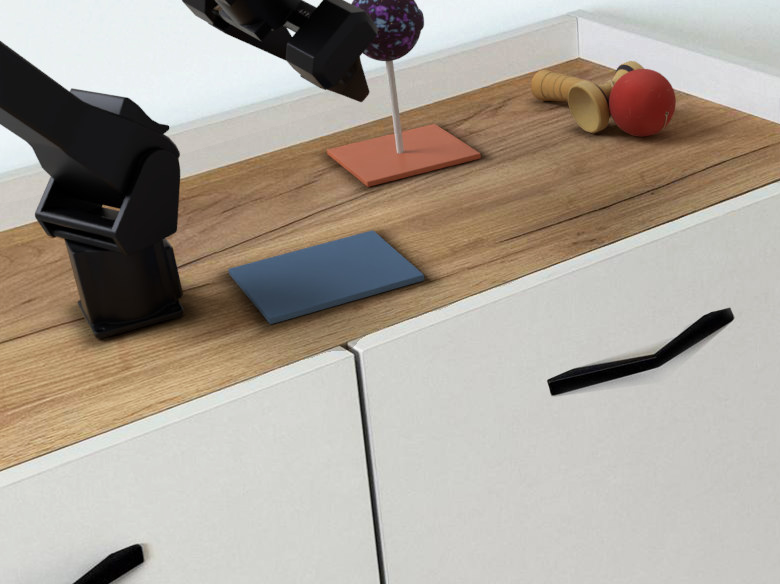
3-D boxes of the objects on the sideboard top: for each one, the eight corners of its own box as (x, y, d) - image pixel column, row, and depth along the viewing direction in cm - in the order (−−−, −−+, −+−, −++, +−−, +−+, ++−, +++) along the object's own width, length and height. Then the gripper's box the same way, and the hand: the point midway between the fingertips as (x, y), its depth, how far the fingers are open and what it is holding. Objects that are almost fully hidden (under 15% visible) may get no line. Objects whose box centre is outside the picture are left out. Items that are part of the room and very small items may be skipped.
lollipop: (394, 171, 116) (372, -1, 108) (347, 155, 120) (323, -12, 113) (453, 148, 120) (436, -19, 112) (406, 133, 124) (386, -29, 117)
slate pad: (270, 324, 93) (269, 318, 93) (229, 274, 101) (227, 268, 101) (424, 280, 98) (424, 274, 97) (373, 235, 105) (373, 229, 105)
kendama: (509, 124, 129) (629, 143, 116) (508, 58, 128) (630, 69, 114) (571, 118, 134) (694, 135, 120) (571, 54, 132) (696, 64, 118)
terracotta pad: (367, 187, 114) (366, 181, 114) (327, 154, 122) (326, 149, 122) (481, 158, 118) (480, 153, 118) (435, 128, 126) (434, 123, 126)
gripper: (370, -100, 91) (465, 40, 104) (220, -165, 102) (323, -30, 115) (268, 21, 90) (377, 148, 103) (127, -56, 101) (242, 68, 114)
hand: (330, 77), depth 109 cm, fingers open, 9 cm apart
